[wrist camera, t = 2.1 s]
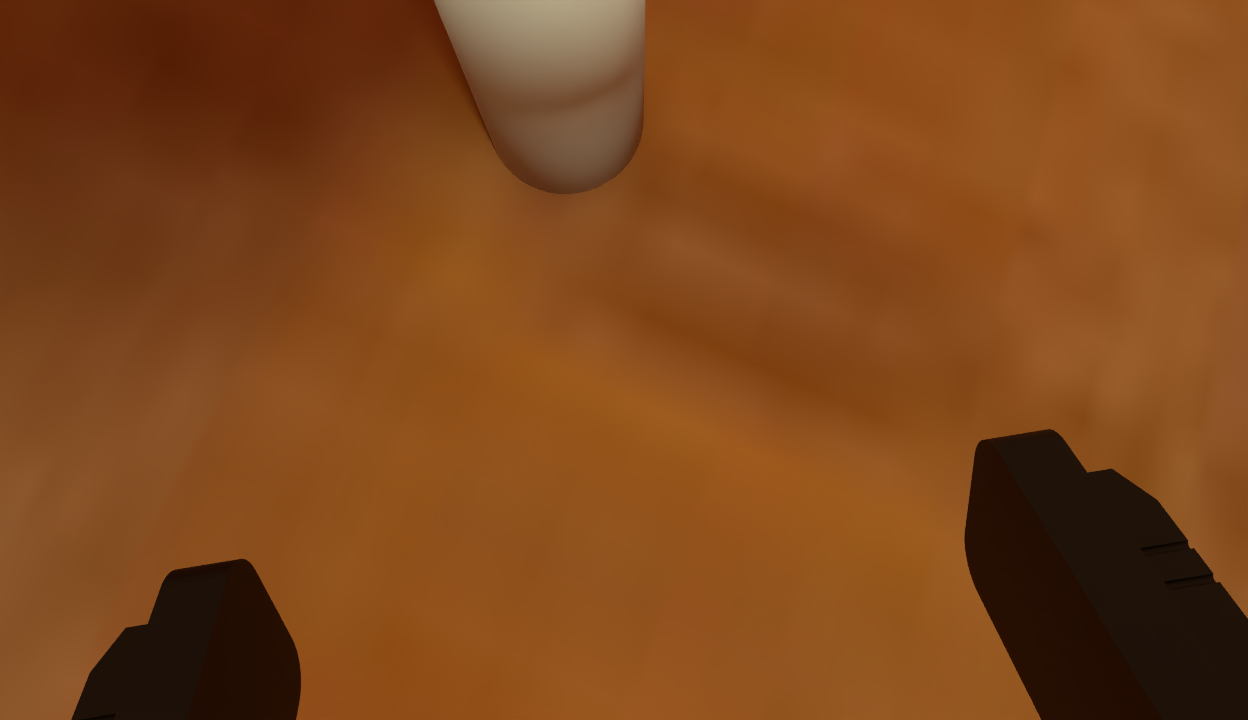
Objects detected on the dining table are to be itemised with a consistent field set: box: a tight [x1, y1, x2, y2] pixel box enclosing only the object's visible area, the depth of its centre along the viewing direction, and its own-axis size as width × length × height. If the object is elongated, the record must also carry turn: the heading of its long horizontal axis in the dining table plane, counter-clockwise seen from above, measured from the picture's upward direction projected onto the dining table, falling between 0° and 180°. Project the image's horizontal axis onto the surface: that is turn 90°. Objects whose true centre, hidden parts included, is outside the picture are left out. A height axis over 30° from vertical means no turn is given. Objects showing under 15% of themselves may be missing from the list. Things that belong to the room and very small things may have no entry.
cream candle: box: [434, 0, 645, 194], centre depth 22 cm, size 4×4×11 cm
